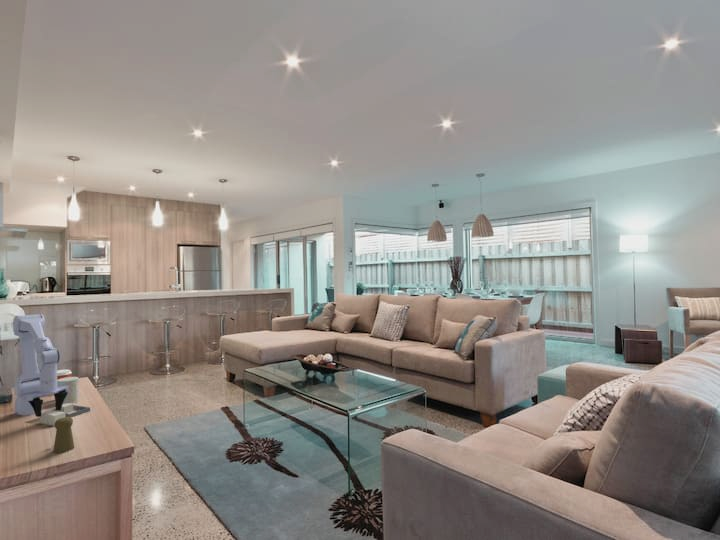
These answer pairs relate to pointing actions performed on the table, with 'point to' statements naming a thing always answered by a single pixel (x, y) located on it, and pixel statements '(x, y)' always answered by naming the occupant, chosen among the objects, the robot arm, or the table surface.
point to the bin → (81, 408)
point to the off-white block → (55, 417)
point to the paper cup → (63, 374)
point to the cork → (63, 435)
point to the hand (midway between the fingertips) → (48, 413)
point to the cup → (70, 389)
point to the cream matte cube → (66, 408)
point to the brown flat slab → (38, 422)
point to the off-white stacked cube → (45, 416)
